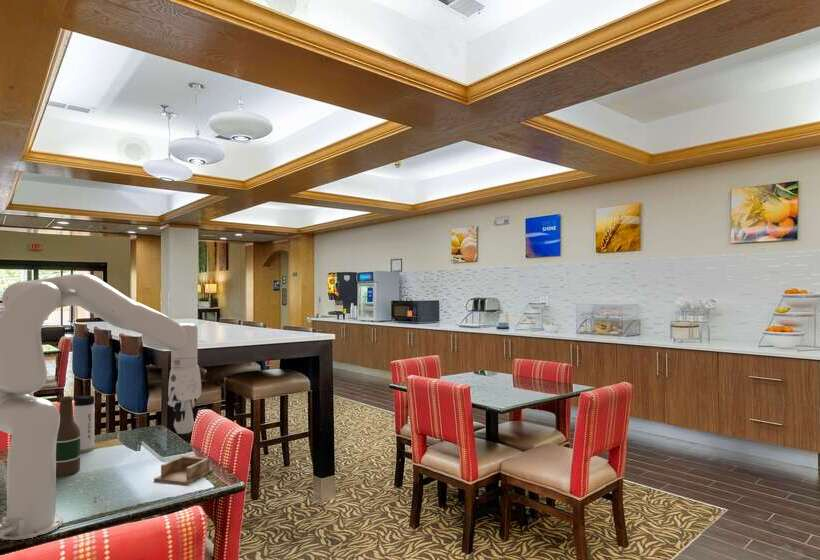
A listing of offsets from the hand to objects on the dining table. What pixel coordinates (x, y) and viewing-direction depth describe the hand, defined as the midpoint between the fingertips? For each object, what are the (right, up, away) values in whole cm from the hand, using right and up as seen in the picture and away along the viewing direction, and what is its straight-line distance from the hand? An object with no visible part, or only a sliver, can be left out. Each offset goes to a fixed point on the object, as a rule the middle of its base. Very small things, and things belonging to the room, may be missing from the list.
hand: (184, 421), depth 160 cm
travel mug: (-48, -18, +27) cm, 58 cm away
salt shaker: (0, -3, 0) cm, 3 cm away
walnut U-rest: (0, -17, 0) cm, 17 cm away
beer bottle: (-39, -17, +3) cm, 43 cm away
